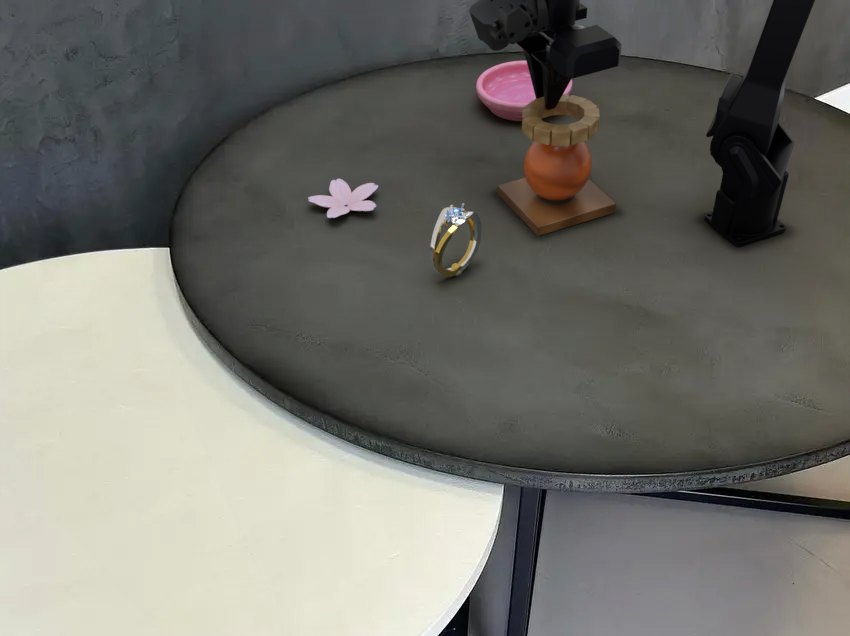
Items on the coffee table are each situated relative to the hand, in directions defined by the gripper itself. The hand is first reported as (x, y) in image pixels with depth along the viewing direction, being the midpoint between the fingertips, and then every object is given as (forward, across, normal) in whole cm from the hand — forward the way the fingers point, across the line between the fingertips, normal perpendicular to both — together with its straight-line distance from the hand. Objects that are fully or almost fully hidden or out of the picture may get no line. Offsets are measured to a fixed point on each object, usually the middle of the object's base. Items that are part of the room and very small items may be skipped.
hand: (545, 104), depth 109 cm
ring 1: (+11, +10, -16) cm, 22 cm away
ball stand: (+10, +3, 0) cm, 11 cm away
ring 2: (+1, +3, 0) cm, 3 cm away
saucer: (+11, -20, +8) cm, 24 cm away
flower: (+11, -8, -22) cm, 26 cm away
